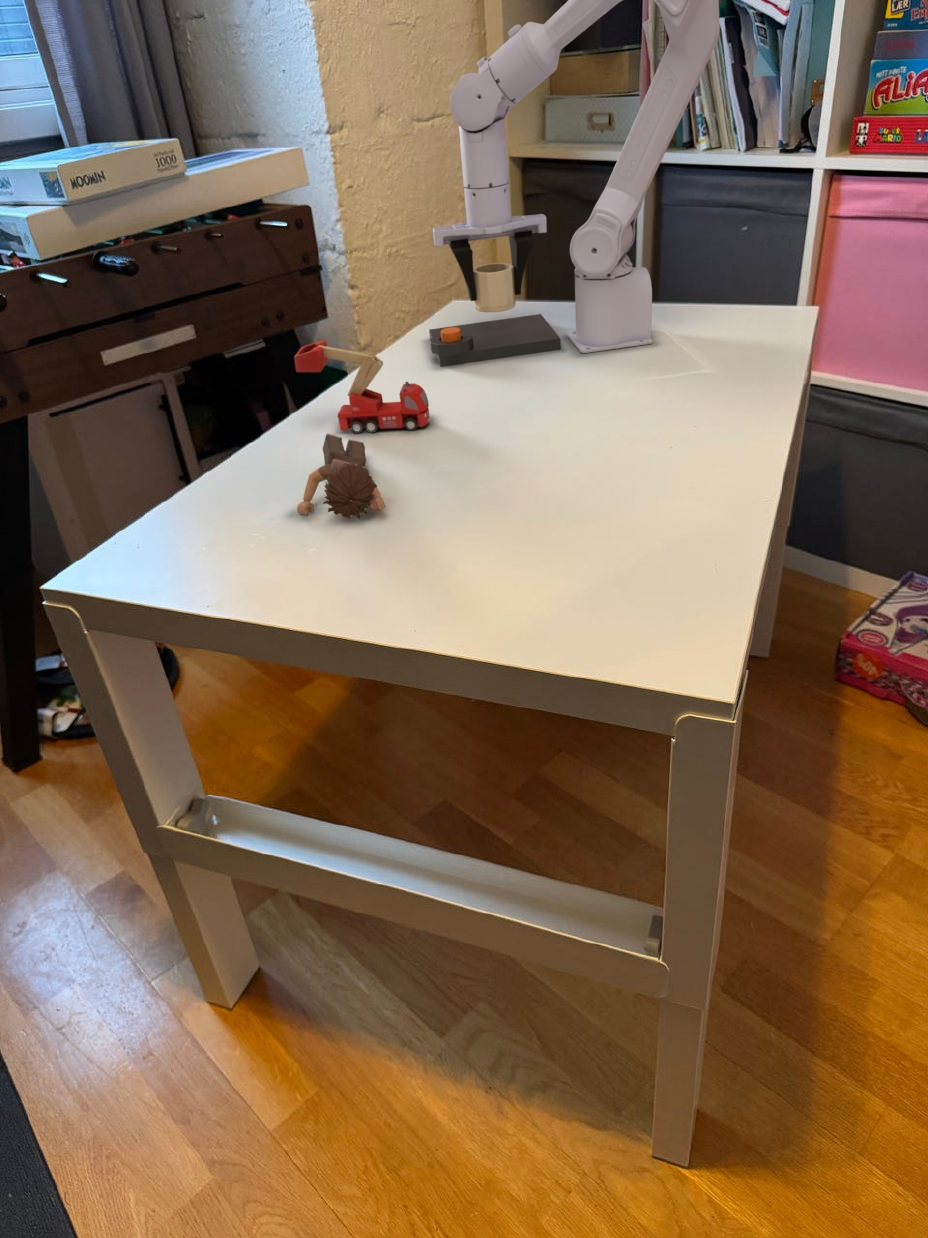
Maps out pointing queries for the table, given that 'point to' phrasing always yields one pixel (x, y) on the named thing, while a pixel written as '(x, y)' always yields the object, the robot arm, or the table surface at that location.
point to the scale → (495, 340)
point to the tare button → (450, 334)
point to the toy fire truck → (367, 392)
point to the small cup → (494, 287)
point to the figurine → (343, 480)
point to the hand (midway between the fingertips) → (494, 295)
